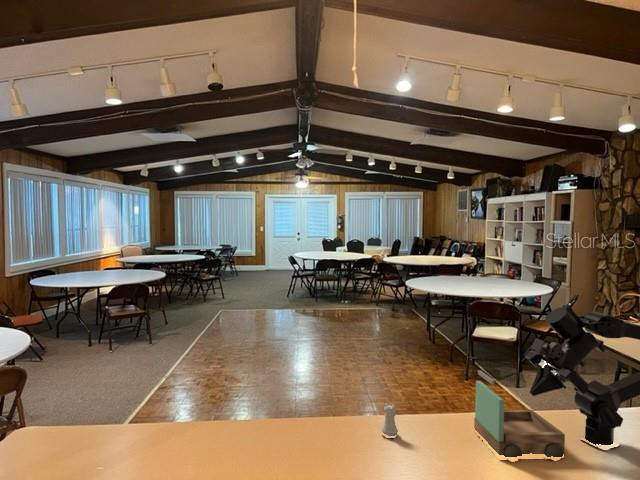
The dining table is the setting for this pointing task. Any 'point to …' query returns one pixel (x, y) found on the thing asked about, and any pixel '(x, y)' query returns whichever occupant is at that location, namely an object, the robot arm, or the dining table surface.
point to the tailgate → (489, 408)
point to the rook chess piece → (389, 421)
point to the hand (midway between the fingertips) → (531, 394)
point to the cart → (525, 435)
